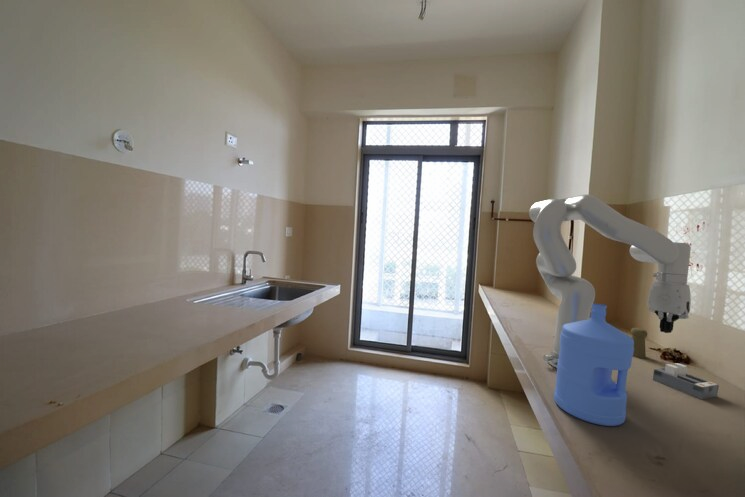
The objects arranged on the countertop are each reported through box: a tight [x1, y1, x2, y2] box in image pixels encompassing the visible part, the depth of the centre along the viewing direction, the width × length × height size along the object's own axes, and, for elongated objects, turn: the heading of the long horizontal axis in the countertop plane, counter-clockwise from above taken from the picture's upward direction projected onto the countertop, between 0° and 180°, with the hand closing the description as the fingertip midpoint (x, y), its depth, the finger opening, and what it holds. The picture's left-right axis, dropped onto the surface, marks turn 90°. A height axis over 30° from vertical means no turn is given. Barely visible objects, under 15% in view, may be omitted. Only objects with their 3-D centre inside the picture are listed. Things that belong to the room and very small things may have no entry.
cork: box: [630, 327, 648, 359], centre depth 129 cm, size 6×6×11 cm
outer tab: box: [673, 362, 688, 376], centre depth 105 cm, size 2×2×4 cm
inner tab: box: [664, 363, 679, 377], centre depth 103 cm, size 2×2×4 cm
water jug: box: [553, 303, 634, 427], centre depth 84 cm, size 16×16×28 cm
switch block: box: [652, 367, 720, 400], centre depth 102 cm, size 8×12×4 cm, turn 19°
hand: (665, 331), depth 109 cm, fingers closed
